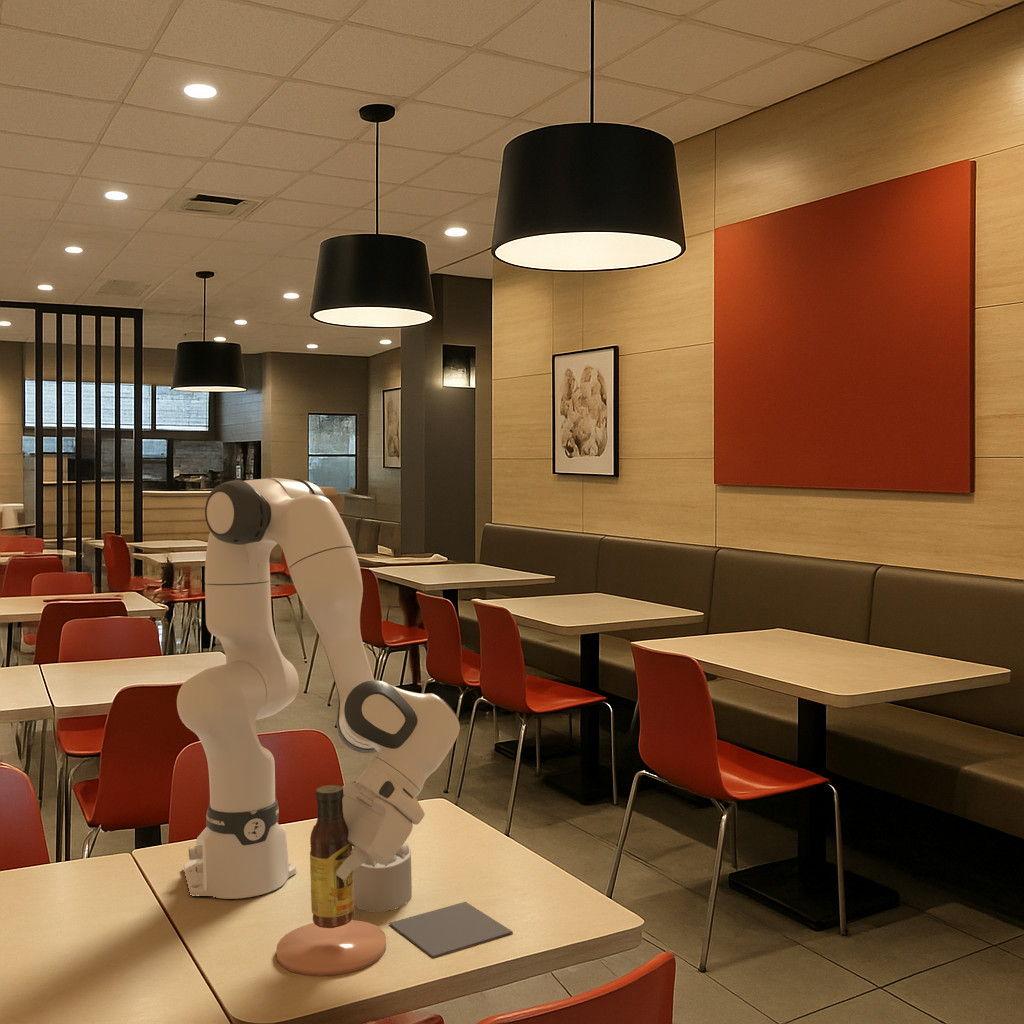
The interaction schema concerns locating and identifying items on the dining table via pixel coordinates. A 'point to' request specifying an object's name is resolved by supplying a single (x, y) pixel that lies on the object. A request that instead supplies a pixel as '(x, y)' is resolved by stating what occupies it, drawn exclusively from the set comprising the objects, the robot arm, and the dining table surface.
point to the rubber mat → (450, 929)
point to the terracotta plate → (331, 948)
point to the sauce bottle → (330, 861)
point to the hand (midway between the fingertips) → (327, 868)
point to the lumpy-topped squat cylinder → (383, 882)
